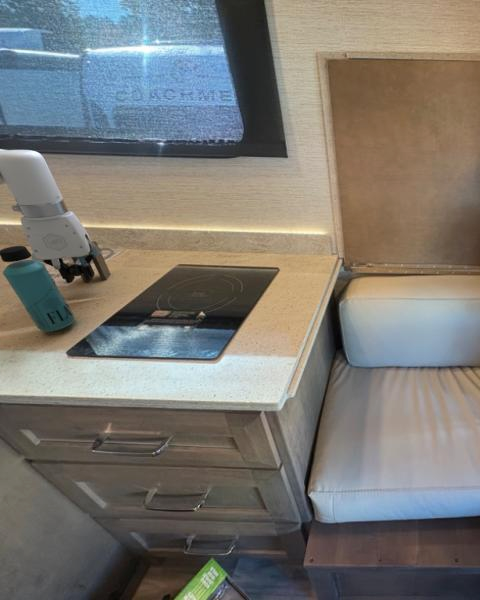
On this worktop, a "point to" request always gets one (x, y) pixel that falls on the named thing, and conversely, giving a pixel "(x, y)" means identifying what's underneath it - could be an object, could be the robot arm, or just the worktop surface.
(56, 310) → the beverage bottle
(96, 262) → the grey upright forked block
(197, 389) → the worktop surface
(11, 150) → the robot arm
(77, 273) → the tap lever
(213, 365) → the worktop surface
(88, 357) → the worktop surface
